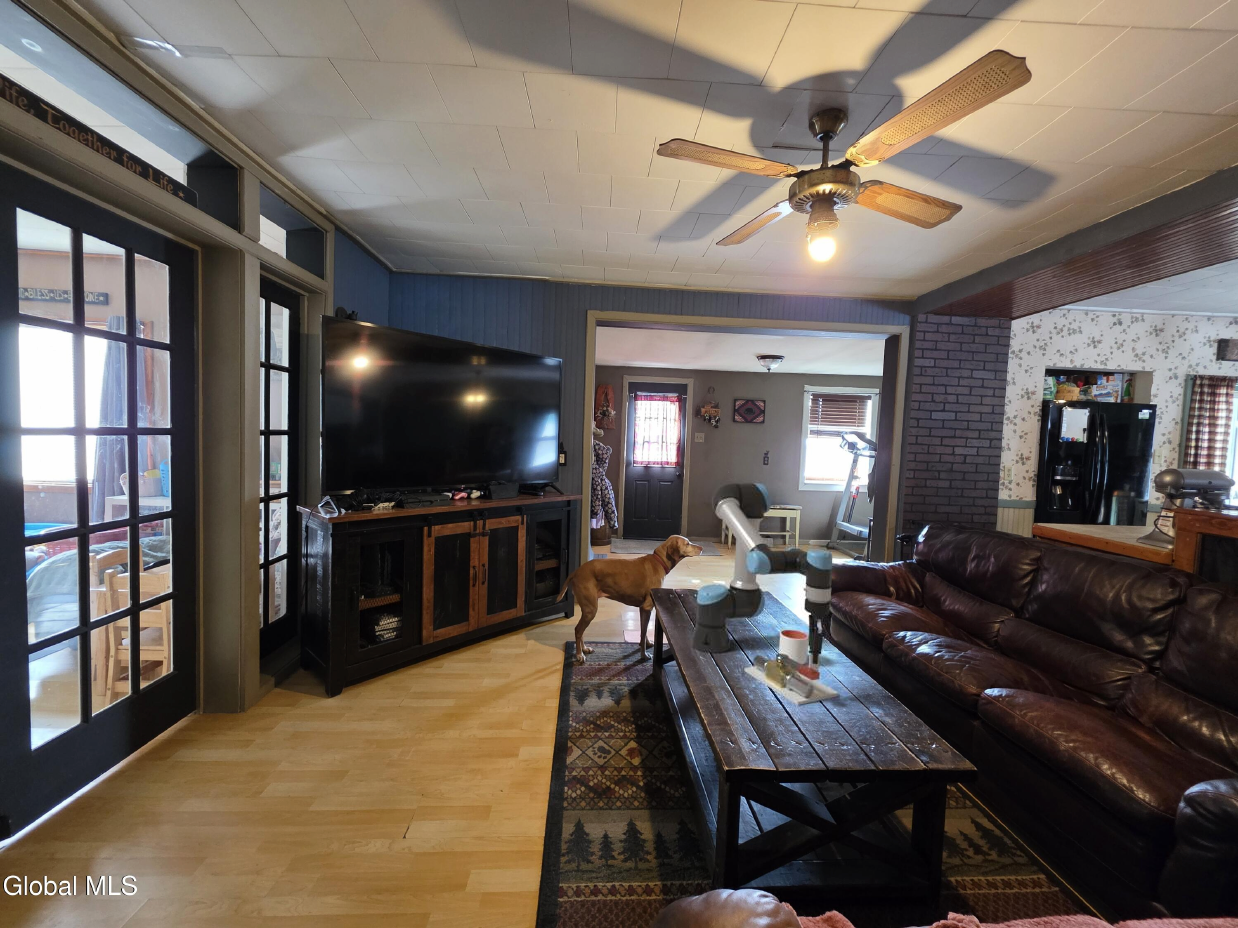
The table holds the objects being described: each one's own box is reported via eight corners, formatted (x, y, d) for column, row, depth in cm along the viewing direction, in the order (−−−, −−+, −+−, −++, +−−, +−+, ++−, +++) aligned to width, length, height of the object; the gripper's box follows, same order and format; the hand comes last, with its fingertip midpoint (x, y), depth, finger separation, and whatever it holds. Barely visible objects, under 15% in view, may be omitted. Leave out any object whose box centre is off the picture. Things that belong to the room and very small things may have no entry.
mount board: (744, 670, 187) (744, 668, 187) (782, 663, 194) (782, 661, 194) (797, 705, 164) (797, 701, 163) (838, 695, 171) (838, 692, 171)
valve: (749, 670, 187) (750, 650, 187) (765, 667, 190) (766, 647, 189) (799, 702, 165) (800, 678, 165) (816, 698, 168) (817, 675, 168)
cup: (808, 667, 192) (810, 640, 191) (780, 664, 194) (781, 637, 193) (804, 657, 202) (806, 631, 201) (777, 654, 204) (778, 628, 203)
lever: (773, 660, 178) (773, 654, 178) (782, 658, 180) (782, 652, 180) (811, 680, 163) (811, 674, 163) (820, 678, 165) (820, 672, 165)
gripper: (801, 592, 175) (798, 662, 176) (808, 604, 162) (804, 679, 163) (825, 594, 173) (821, 664, 175) (834, 606, 161) (830, 682, 162)
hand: (813, 671), depth 169 cm, fingers closed
